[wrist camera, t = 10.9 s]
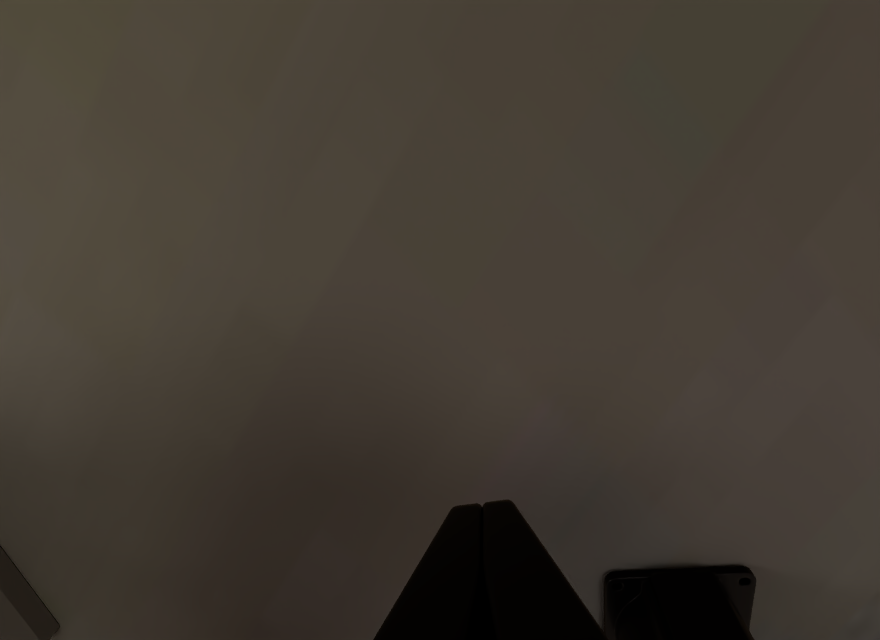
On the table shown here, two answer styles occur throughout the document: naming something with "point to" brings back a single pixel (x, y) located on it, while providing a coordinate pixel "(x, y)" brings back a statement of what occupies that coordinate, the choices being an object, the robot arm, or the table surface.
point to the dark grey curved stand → (21, 607)
